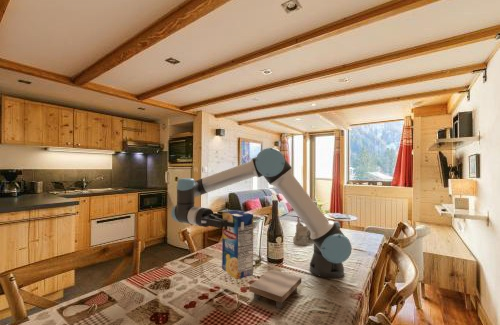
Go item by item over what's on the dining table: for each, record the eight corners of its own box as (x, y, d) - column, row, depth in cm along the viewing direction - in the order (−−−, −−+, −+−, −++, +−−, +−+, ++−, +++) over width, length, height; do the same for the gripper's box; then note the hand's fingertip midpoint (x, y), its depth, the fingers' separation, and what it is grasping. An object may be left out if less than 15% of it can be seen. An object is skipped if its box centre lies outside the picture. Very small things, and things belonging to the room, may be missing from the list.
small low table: (271, 281, 101) (271, 269, 101) (301, 290, 94) (301, 277, 94) (249, 299, 87) (249, 285, 87) (281, 312, 79) (282, 296, 79)
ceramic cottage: (291, 244, 149) (293, 219, 150) (293, 237, 165) (295, 215, 166) (317, 248, 145) (319, 223, 146) (317, 241, 161) (319, 218, 162)
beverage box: (237, 279, 84) (237, 216, 85) (222, 268, 93) (222, 211, 94) (253, 274, 88) (253, 214, 89) (236, 264, 97) (237, 210, 98)
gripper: (215, 221, 108) (260, 229, 95) (184, 230, 93) (232, 241, 80) (215, 205, 108) (260, 210, 95) (184, 210, 93) (232, 218, 80)
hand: (247, 224), depth 88 cm, fingers closed on beverage box, 5 cm apart
